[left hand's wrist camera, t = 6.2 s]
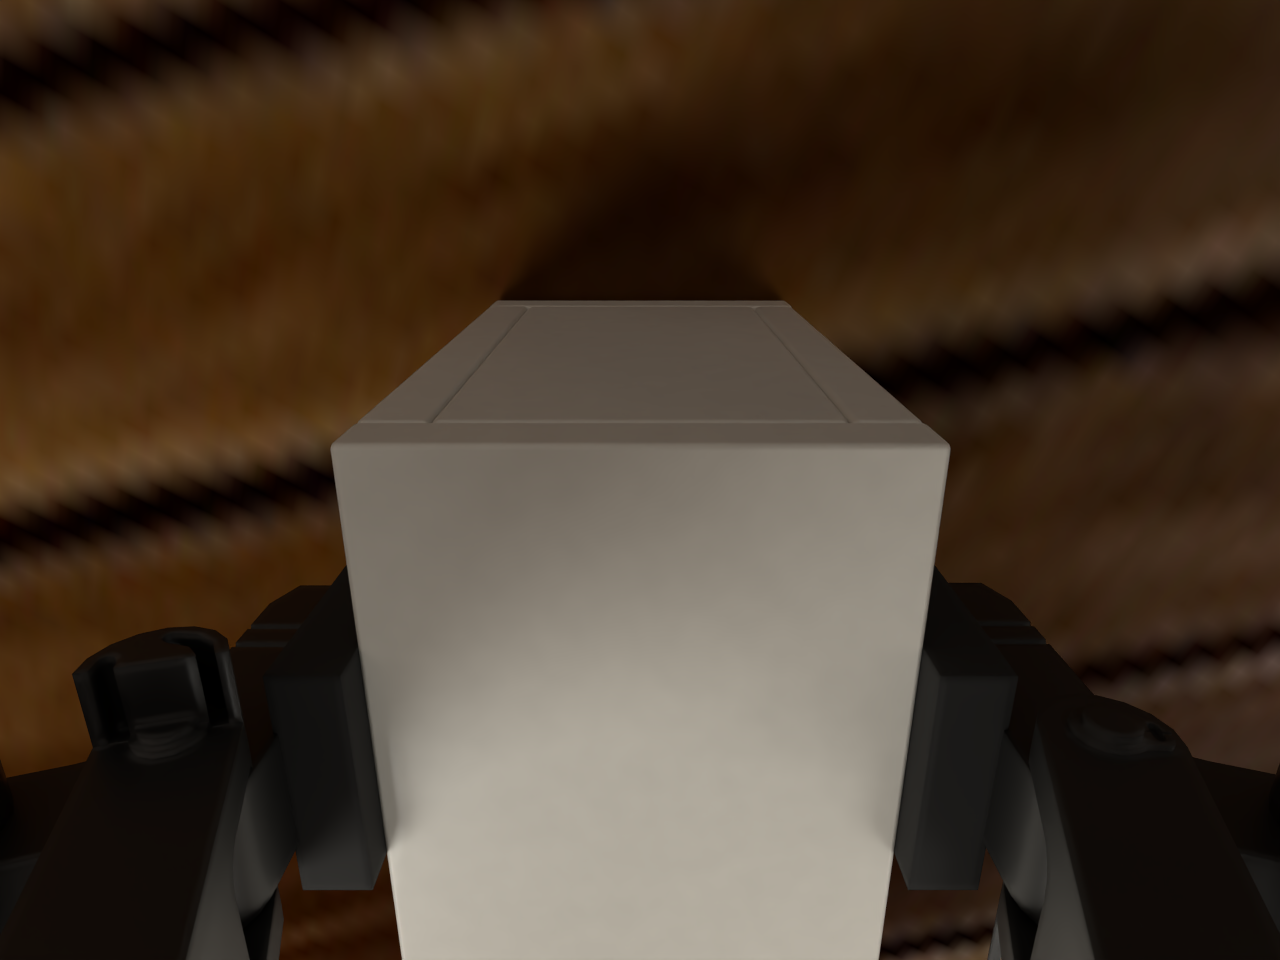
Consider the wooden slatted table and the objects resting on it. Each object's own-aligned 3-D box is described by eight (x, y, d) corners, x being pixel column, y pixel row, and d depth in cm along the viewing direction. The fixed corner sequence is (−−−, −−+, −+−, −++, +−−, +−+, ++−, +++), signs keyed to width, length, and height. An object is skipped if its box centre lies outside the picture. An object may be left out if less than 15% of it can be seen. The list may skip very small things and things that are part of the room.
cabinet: (739, 1046, 24) (797, 1549, 15) (541, 1046, 24) (483, 1549, 15) (786, 300, 16) (953, 444, 8) (495, 300, 16) (327, 444, 8)
